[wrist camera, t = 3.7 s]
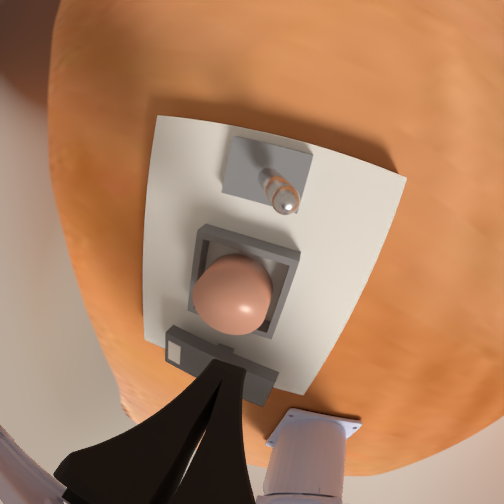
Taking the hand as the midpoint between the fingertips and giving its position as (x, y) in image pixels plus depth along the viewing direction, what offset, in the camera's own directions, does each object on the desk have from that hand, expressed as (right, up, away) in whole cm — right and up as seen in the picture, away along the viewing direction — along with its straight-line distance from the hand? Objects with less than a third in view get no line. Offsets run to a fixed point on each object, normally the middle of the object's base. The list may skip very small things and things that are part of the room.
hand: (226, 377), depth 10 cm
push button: (0, +3, +6) cm, 6 cm away
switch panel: (+1, +4, +8) cm, 9 cm away
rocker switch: (-1, -3, +7) cm, 8 cm away
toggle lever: (+2, +9, +3) cm, 9 cm away
